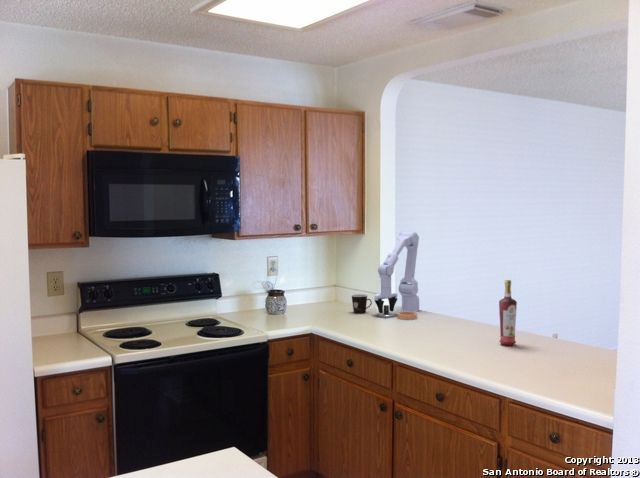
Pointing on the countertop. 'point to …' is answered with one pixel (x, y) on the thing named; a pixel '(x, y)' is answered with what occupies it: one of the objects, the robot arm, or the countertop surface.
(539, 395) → the countertop surface
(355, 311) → the coffee mug
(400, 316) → the bowl
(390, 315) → the lid
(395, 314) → the mat
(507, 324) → the liquor
